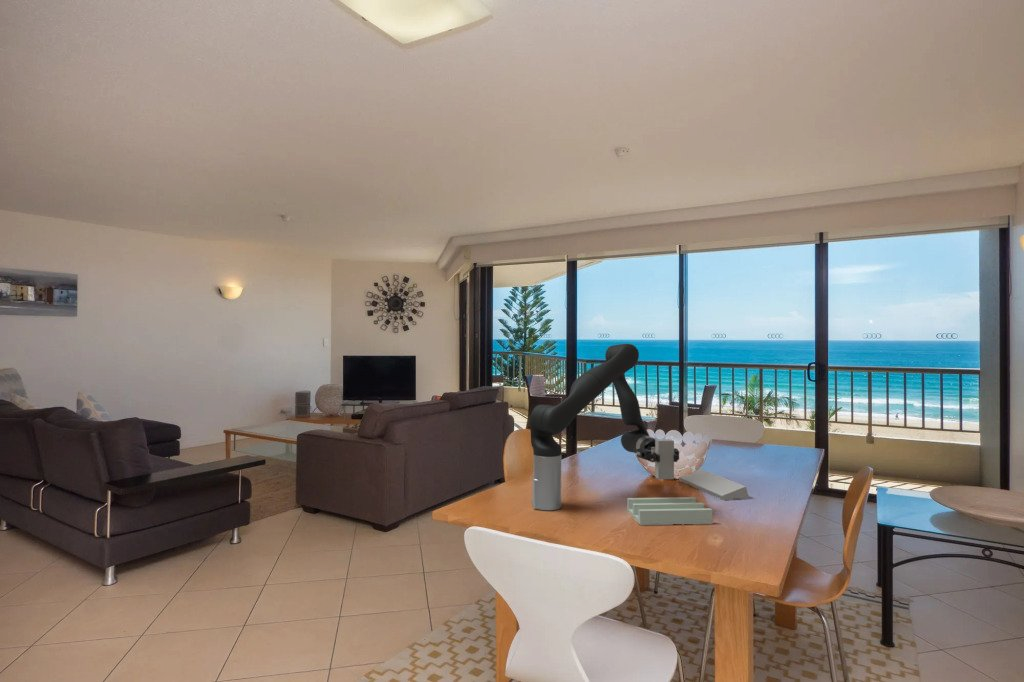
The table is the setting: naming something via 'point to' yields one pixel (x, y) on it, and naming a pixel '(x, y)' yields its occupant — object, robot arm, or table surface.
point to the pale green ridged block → (668, 511)
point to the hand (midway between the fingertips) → (667, 458)
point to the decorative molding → (715, 485)
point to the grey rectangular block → (664, 459)
